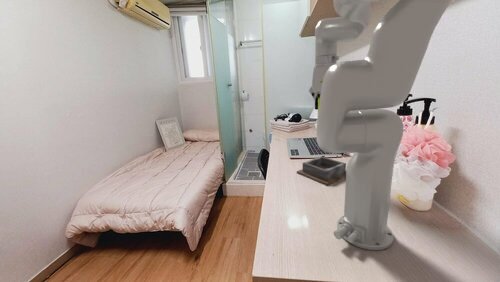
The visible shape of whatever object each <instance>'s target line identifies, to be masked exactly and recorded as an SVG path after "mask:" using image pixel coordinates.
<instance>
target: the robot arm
mask: <svg viewBox="0 0 500 282" xmlns="http://www.w3.org/2000/svg"><path fill="white" fill-rule="evenodd" d="M332 1H333V8H334V10H335V12H336V14H337V15H338V16H337V17H329V18H328V17H327V18H323V19H320V20H319V21H318V22H317V24H316V26H315V29H314V37H315V38H314V40H315V50H314V51H315V52H314V53H315V54H314V56H315V57H314V58H315V60H314V67H313V72H312V78H311V79H312V81H311V87H310V88H309V90H308V92H309V93H310V95H311V97H312V98H313V101H314V110H317V111H318V98H319V97H320V104H319V113H318V112H317V121H316V130H315V131H316V134H315V135H316V136H315V137H316V143H317V145H318V147H319V149H320V150H321V151H323V152H324V153H327V154H347V153H348V154H350V153H351V154H352V153H353V154H352V155H351V156H350V159H349V160H348V162H347V163H346V177H345V186H344V187H345V191H344V211H343V212H344V213H343V216H341V217H340V218H338V220H337V223H336V230H334V231H333V236H334V237H335V239H337V240H341V239H342V238H343V239H344V240H345V241H346V242H348V243H350V244H352V245H353V246H355V247H357V248H361V249H364V250H369V251H381V250H385V249H388V248H390V247H391V246H392V244H393V243H394V233H393V231H392V230H391V228H390V227H389V226H388V218H389V211H390V210H389V209H390V201H391V192H392V191H391V190H392V183H393V182H392V181H393V174H394V168H395V167H394V166H395V161H396V158H397V154H398V150H399V148H400V144H401V143H402V139H403V136H404V129H405V128H404V122H403V120H402V118H401V116H400V115H399V114H398V113H396V112H395V111H392V110H390V109H388V108H393V107H398V106H400V105H402V104H403V103H404V102H405V101H406V100H407V98H408V97H409V94H410V93H411V91H412V88H413V86H414V84H415V81H416V78H417V75H418V73H419V70H420V68H421V66H422V63H423V59H424V58H425V55H426V53H427V49H428V46H429V44H430V41H431V38H432V37H433V33H434V31H435V29H436V27H437V25H438V23H439V21H440V20H441V18H442V16H443V15H444V14H445V12H446V10H447V8H448V7H449V5H450V3H451V2H452V0H399V1H398V2H396V3H395V4H394V5H393V6H392V7H391V8H390V9H389V10H388V11H387V12H386V14H385V15H384V16H383V17H382V18H381V19H380V21H379V22H378V24H377V25H376V27H375V28H374V30H373V32H372V36H371V38H370V45H369V48H368V52H367V54H366V56H365V57H364V58H363V59H357V60H346V61H340V62H338V61H339V59H340V57H339V56H338V53H337V52H338V51H337V50H338V43H349V42H353V41H356V40H357V39H359V38H360V36H362V35H363V34H364V32H365V31H366V30H367V29H368V27H369V25H370V21H371V19H372V18H371V17H372V6H371V3H377V2H378V3H379V2H385V1H387V0H332ZM320 80H323V81H322V82H319V81H320Z"/></svg>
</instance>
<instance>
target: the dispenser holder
mask: <svg viewBox="0 0 500 282" xmlns="http://www.w3.org/2000/svg"><path fill="white" fill-rule="evenodd" d="M346 168H347V163H346V162H342V161H338V160H335V159H332V158H328V157H325V156H322V155H321V156H319V157H316V158H313V159H310V160H307V161H304V162H302V169H299V170H296V174H298V175H301V176H303V177H305V178H307V179H309V180H311V181H315V182H318V183H320V184H322V185H324V186H330V185H331V184H334V183H336V182H338V181H340V180H342V179H346Z"/></svg>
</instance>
